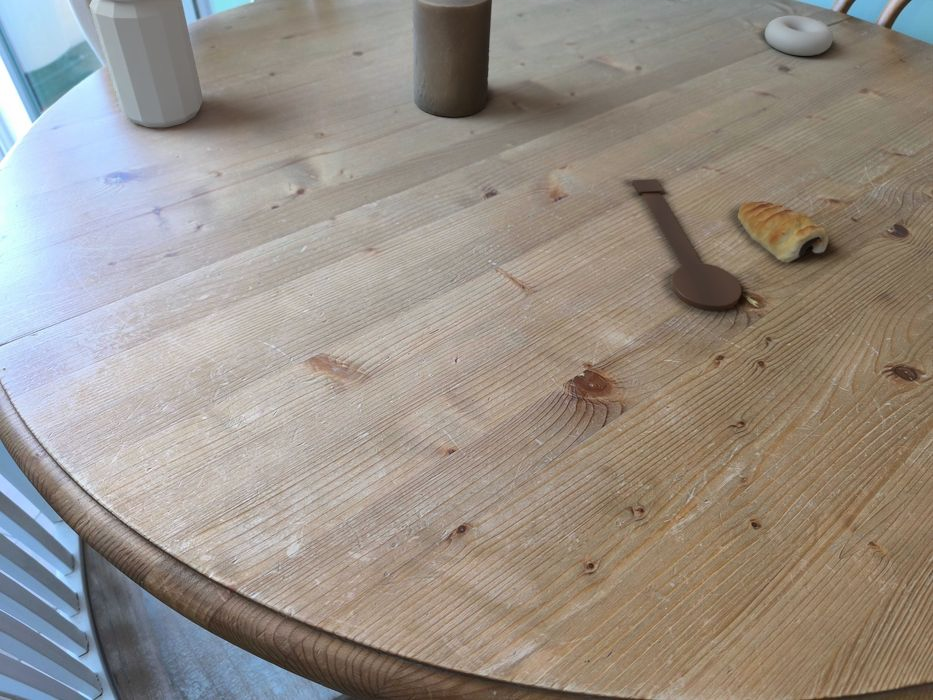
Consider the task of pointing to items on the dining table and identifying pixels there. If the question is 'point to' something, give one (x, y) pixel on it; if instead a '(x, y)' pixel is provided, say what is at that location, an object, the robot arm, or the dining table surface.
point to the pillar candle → (451, 55)
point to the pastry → (782, 230)
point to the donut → (798, 35)
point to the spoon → (689, 259)
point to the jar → (149, 59)
